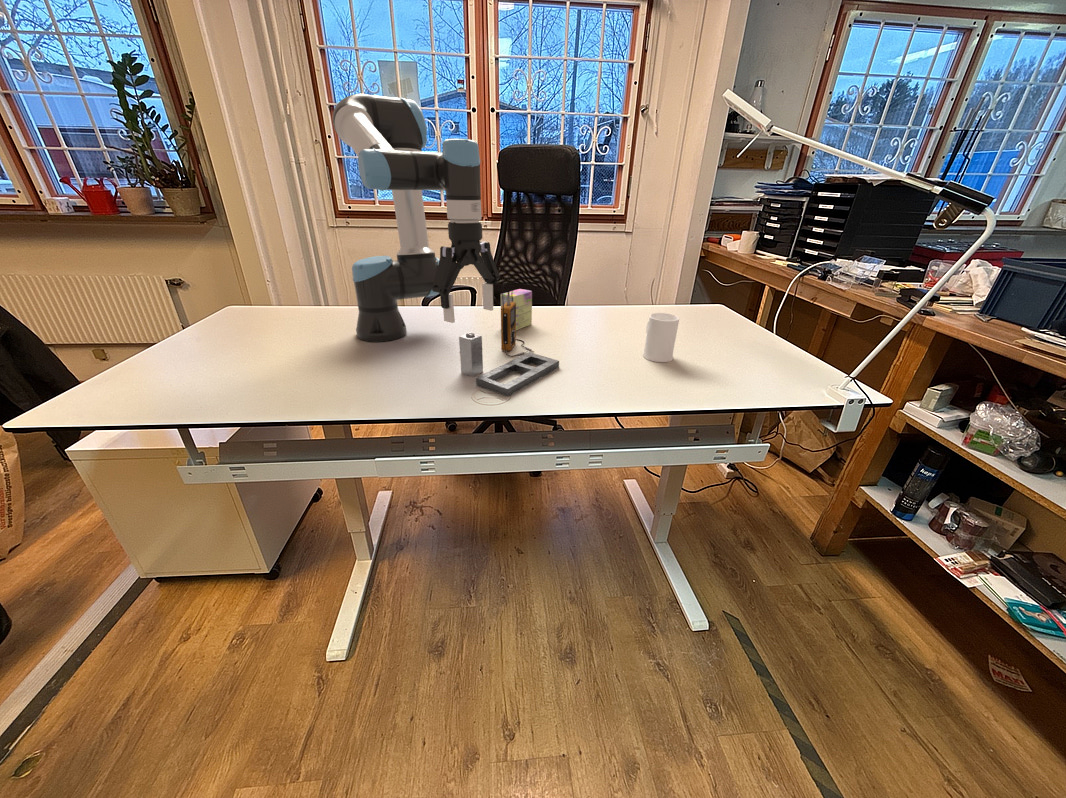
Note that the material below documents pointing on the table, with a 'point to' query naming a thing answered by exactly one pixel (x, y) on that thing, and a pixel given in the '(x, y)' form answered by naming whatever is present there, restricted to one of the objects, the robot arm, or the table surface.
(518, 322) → the box
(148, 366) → the table surface
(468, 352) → the grey tall block
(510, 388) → the grey flat frame
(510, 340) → the multimeter
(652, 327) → the mug
